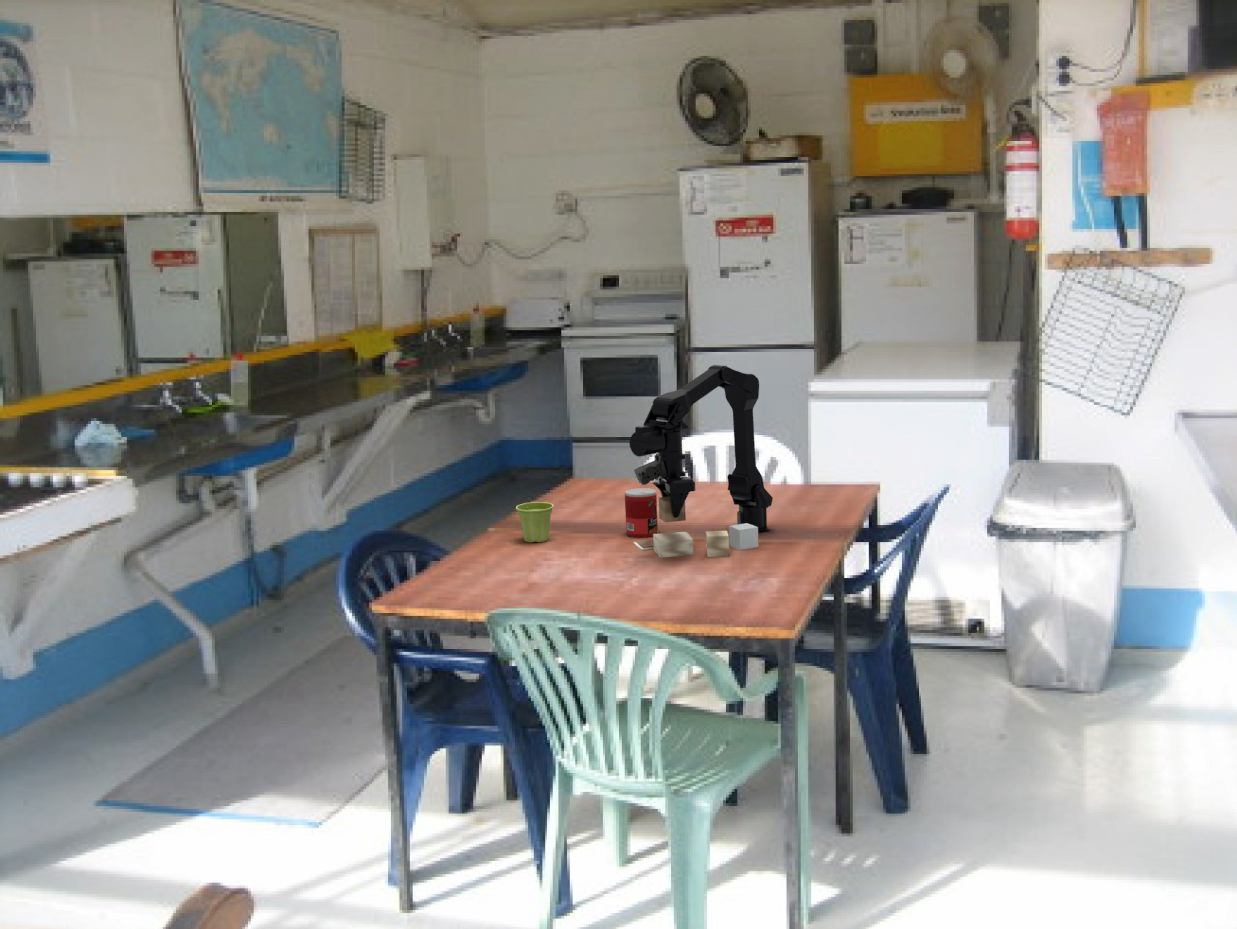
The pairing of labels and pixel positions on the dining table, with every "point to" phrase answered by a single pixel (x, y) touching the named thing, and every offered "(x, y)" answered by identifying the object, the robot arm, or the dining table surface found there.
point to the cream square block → (673, 544)
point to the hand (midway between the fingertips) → (672, 515)
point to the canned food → (641, 512)
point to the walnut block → (669, 511)
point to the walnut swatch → (645, 544)
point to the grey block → (743, 536)
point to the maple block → (717, 543)
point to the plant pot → (535, 520)
